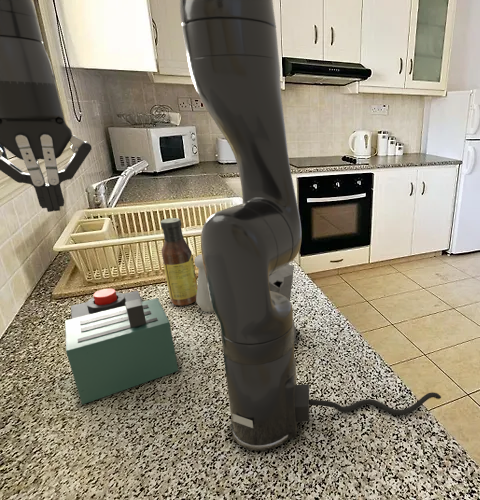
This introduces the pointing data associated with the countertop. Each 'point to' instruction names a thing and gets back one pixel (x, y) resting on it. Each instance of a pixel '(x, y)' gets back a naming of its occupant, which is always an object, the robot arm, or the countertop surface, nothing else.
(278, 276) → the coffeepot
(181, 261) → the sauce bottle
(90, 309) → the button base
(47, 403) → the countertop surface
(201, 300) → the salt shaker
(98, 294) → the button
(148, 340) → the toaster
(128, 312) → the toaster slider
